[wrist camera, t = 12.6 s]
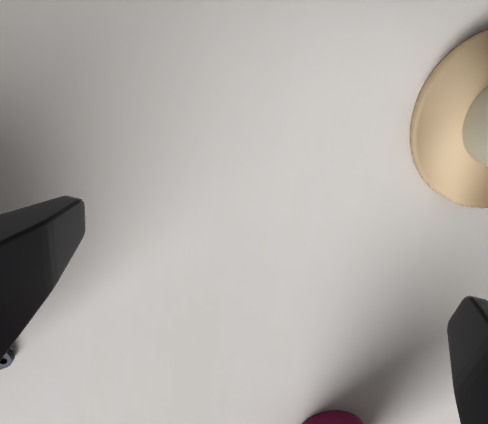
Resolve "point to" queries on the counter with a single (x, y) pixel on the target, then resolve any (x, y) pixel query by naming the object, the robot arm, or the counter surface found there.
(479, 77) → the coaster
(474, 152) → the white jar with lid
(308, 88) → the counter surface
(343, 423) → the cup
